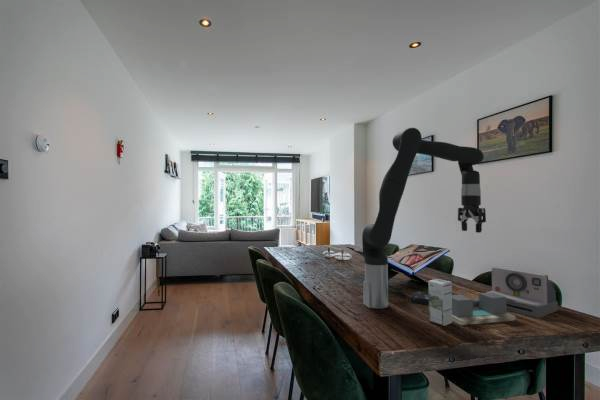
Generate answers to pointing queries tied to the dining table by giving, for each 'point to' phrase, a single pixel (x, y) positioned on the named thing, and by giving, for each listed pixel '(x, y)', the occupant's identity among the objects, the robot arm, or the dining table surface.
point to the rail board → (480, 309)
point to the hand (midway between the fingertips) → (471, 231)
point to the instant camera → (525, 291)
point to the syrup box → (440, 301)
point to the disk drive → (420, 298)
